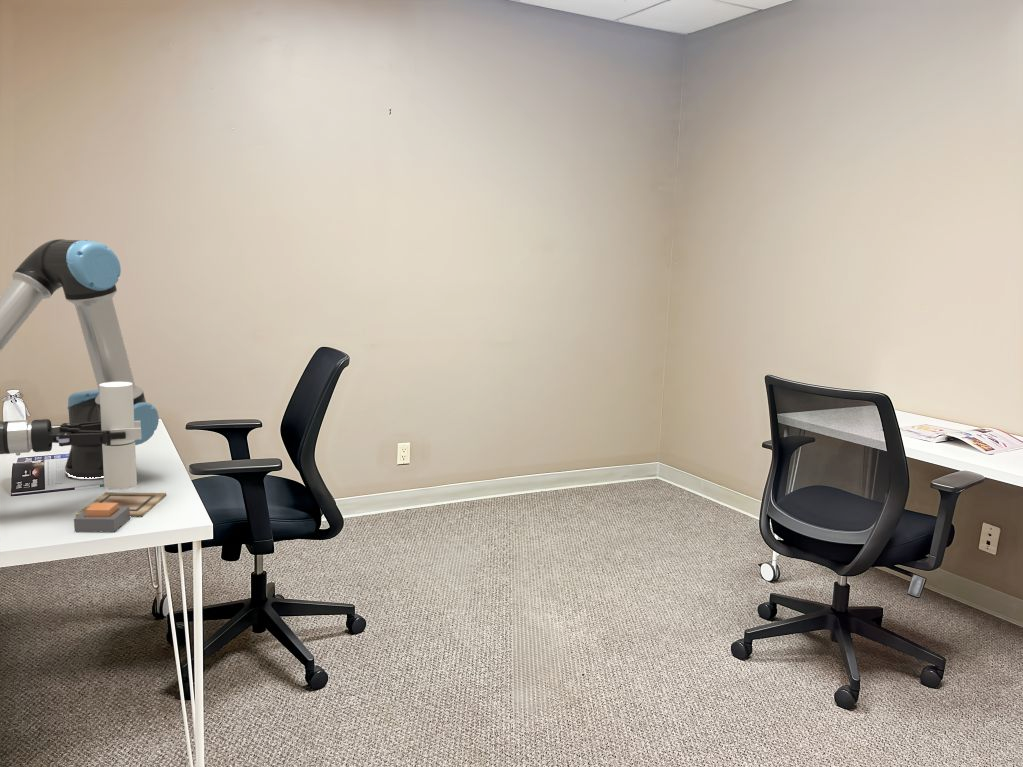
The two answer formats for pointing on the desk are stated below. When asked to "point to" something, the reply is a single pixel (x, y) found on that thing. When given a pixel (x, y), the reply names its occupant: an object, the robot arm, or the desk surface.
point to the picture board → (130, 501)
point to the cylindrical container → (118, 416)
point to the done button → (102, 510)
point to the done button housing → (102, 521)
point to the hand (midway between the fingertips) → (140, 429)
